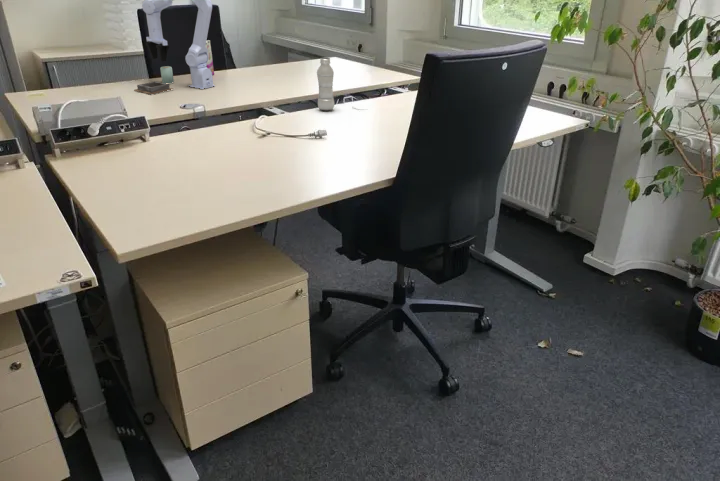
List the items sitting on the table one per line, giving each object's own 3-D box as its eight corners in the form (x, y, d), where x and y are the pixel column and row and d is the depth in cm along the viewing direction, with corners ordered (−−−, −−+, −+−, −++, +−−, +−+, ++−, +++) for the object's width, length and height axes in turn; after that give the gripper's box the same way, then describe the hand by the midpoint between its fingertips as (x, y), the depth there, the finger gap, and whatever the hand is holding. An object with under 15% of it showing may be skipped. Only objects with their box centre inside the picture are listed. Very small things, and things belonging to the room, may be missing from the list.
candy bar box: (204, 74, 274) (200, 40, 266) (214, 74, 274) (210, 40, 266) (198, 79, 264) (194, 43, 257) (208, 79, 264) (204, 43, 257)
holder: (173, 90, 244) (172, 84, 243) (151, 95, 235) (150, 89, 234) (156, 86, 250) (155, 80, 249) (134, 91, 241) (133, 85, 240)
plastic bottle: (332, 112, 215) (331, 60, 205) (315, 111, 216) (314, 59, 206) (336, 108, 220) (335, 57, 211) (320, 107, 221) (318, 56, 212)
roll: (176, 82, 257) (174, 67, 254) (167, 84, 254) (164, 68, 250) (169, 81, 260) (166, 65, 257) (160, 82, 256) (157, 67, 253)
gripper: (138, 27, 246) (143, 58, 253) (155, 31, 238) (160, 63, 244) (152, 26, 251) (156, 56, 257) (169, 29, 242) (173, 61, 249)
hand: (159, 59), depth 251 cm, fingers open, 7 cm apart
